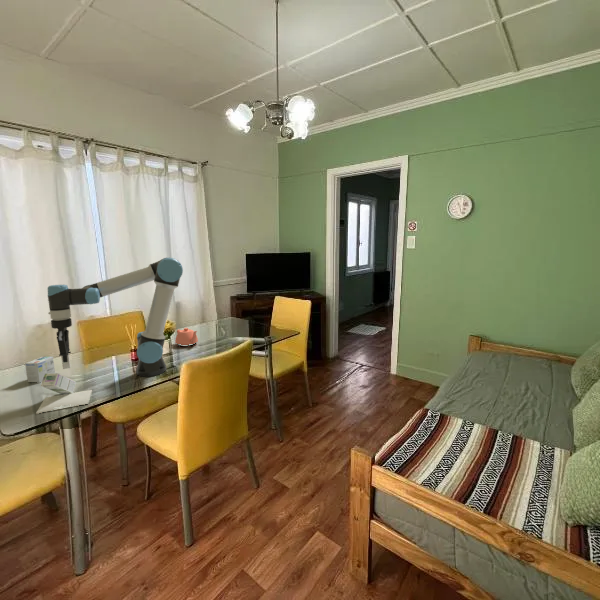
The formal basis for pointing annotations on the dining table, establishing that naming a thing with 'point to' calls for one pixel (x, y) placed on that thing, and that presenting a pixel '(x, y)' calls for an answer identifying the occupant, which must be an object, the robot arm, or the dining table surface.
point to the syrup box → (58, 383)
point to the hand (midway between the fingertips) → (66, 368)
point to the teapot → (186, 337)
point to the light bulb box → (39, 369)
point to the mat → (65, 400)
